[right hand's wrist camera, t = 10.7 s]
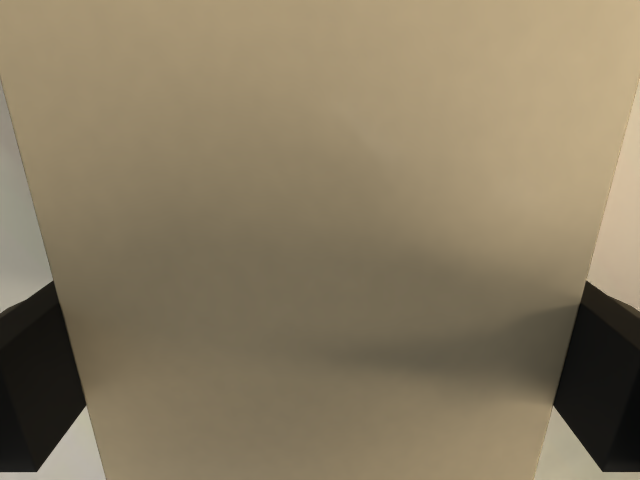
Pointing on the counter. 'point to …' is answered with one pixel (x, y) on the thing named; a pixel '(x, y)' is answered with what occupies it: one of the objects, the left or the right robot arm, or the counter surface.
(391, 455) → the cabinet
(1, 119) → the counter surface
